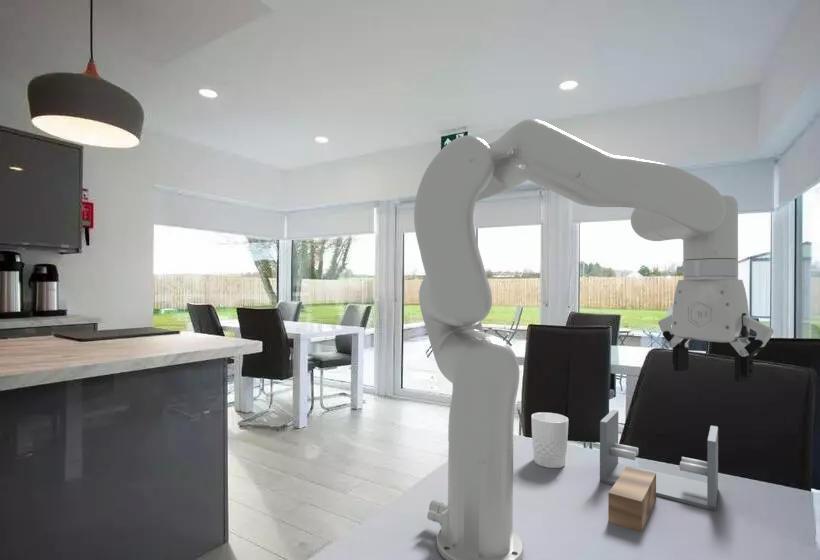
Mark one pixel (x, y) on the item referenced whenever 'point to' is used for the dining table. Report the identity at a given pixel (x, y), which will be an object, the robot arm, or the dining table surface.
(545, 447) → the white cup
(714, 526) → the dining table surface
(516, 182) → the robot arm
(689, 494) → the peg frame
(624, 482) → the shelf board
